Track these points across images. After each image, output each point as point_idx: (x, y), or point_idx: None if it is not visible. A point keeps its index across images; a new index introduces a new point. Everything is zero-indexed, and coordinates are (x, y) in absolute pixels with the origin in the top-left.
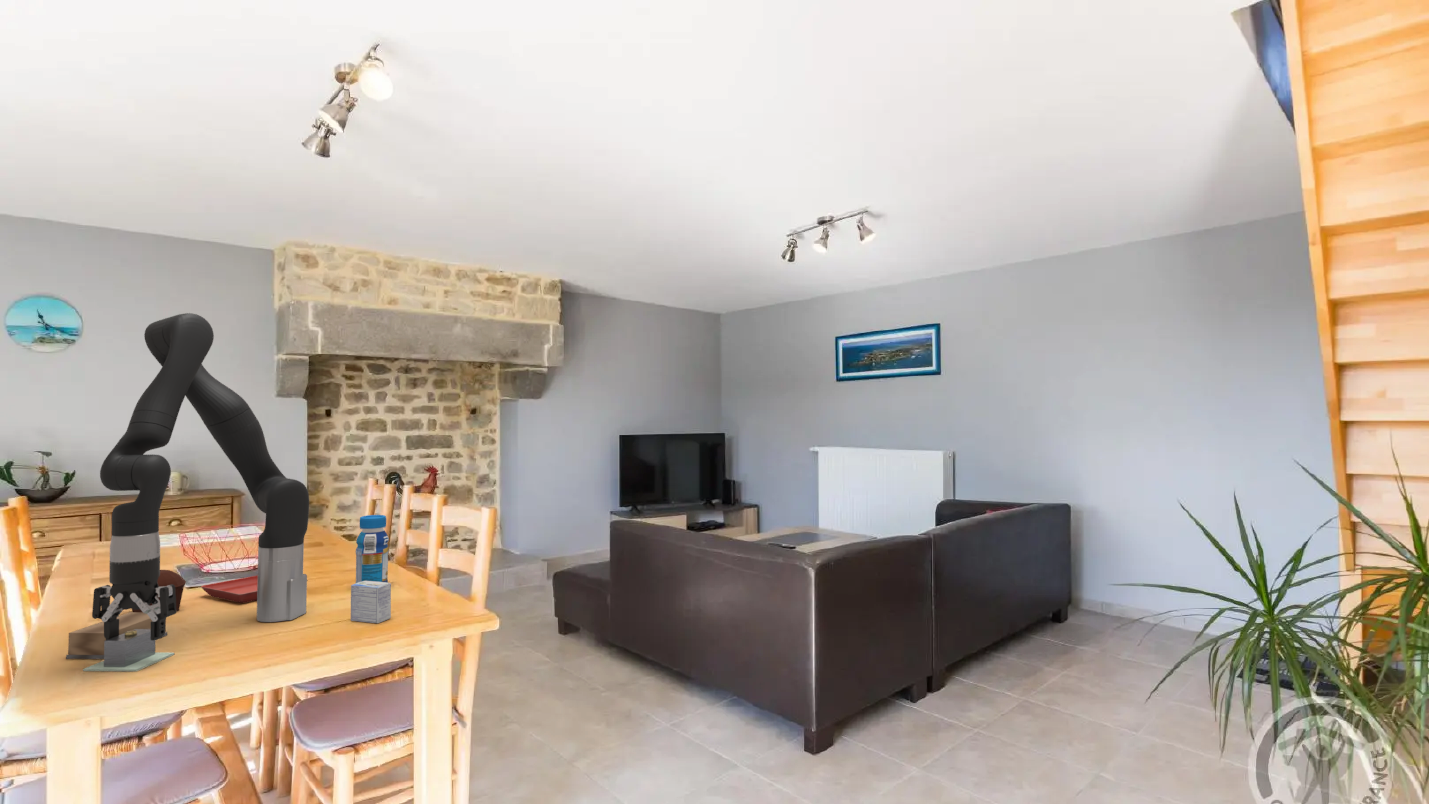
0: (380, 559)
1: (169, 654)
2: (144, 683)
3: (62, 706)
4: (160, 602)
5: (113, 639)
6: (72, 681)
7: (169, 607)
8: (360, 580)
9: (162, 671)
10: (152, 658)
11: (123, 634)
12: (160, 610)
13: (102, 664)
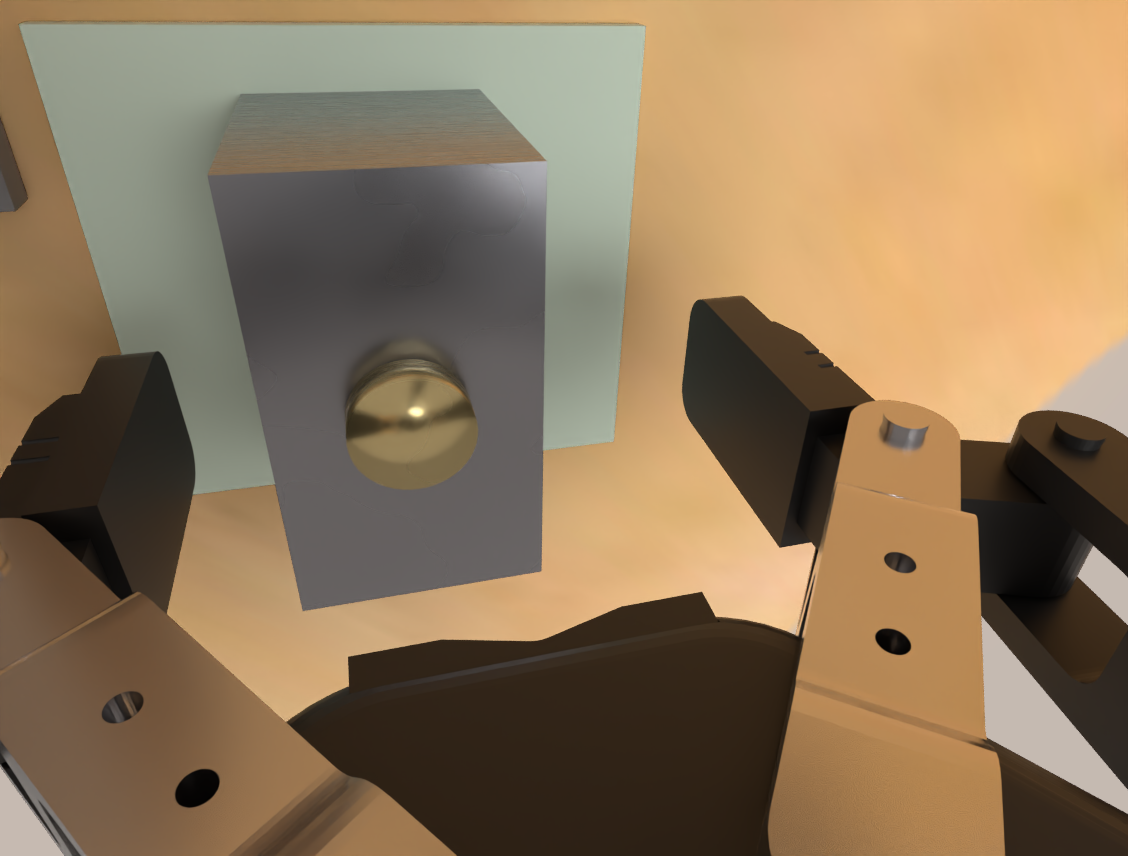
0: None
1: (636, 93)
2: (789, 559)
3: None
4: (1121, 772)
5: (365, 566)
6: (322, 621)
7: (1092, 524)
8: None
9: None
10: (551, 213)
11: (297, 419)
12: (1015, 654)
13: (221, 395)
